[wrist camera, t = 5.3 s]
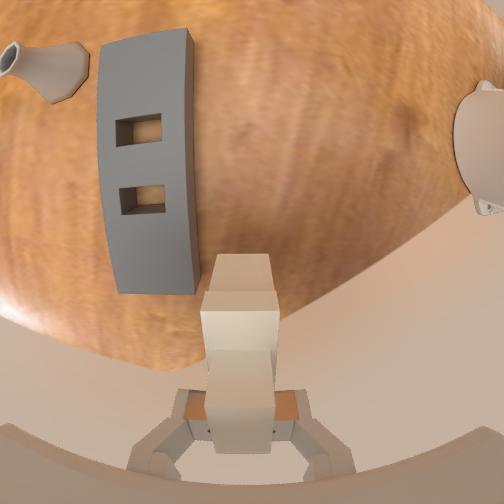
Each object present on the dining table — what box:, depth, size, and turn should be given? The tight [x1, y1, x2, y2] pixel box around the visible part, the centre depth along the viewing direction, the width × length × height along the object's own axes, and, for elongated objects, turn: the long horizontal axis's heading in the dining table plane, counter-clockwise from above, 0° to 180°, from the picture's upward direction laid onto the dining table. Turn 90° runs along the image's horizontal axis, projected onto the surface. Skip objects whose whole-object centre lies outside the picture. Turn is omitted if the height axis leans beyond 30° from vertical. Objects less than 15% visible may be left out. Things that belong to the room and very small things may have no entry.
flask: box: [0, 41, 89, 104], centre depth 15 cm, size 7×7×10 cm
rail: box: [97, 28, 201, 295], centre depth 22 cm, size 8×24×4 cm, turn 0°
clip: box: [200, 254, 280, 454], centre depth 13 cm, size 3×8×10 cm, turn 0°
